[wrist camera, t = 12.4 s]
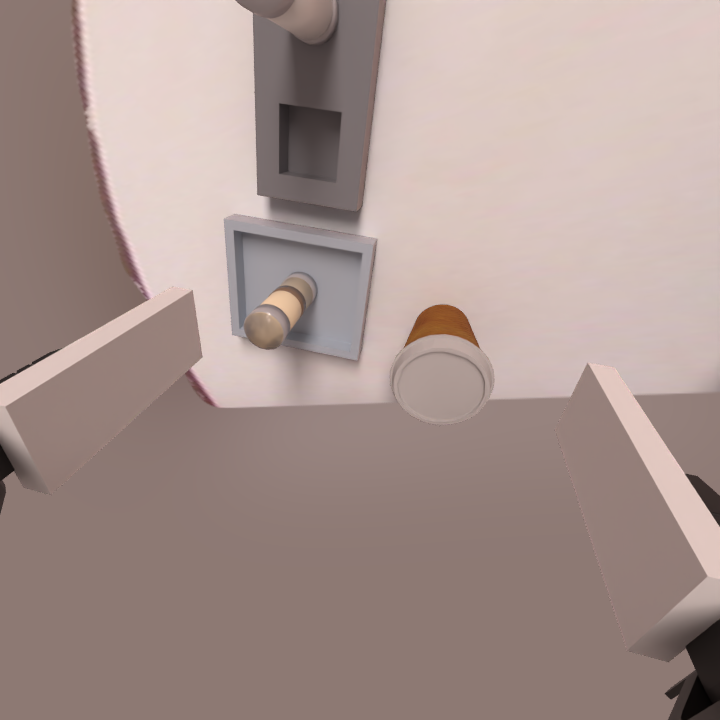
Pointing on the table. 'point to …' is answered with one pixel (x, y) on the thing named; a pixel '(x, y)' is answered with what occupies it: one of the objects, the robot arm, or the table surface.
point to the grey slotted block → (315, 97)
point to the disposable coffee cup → (442, 369)
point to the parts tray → (309, 255)
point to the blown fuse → (280, 311)
